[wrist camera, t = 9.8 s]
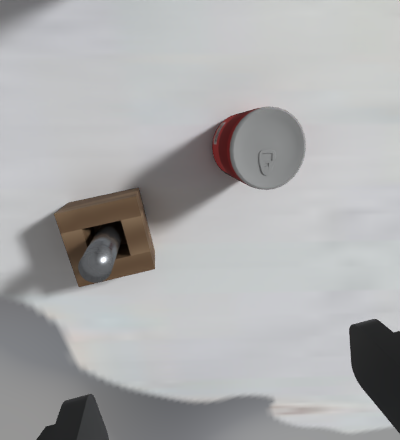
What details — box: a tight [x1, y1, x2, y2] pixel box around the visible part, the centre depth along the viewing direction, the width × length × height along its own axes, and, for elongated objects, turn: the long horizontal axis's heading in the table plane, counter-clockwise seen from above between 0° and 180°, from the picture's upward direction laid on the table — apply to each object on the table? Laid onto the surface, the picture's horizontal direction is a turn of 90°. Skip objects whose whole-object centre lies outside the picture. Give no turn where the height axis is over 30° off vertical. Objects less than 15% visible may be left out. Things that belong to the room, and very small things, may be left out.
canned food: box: [212, 107, 306, 190], centre depth 36 cm, size 8×8×11 cm
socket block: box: [54, 188, 155, 287], centre depth 38 cm, size 9×9×6 cm
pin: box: [78, 221, 124, 283], centre depth 35 cm, size 3×3×12 cm
